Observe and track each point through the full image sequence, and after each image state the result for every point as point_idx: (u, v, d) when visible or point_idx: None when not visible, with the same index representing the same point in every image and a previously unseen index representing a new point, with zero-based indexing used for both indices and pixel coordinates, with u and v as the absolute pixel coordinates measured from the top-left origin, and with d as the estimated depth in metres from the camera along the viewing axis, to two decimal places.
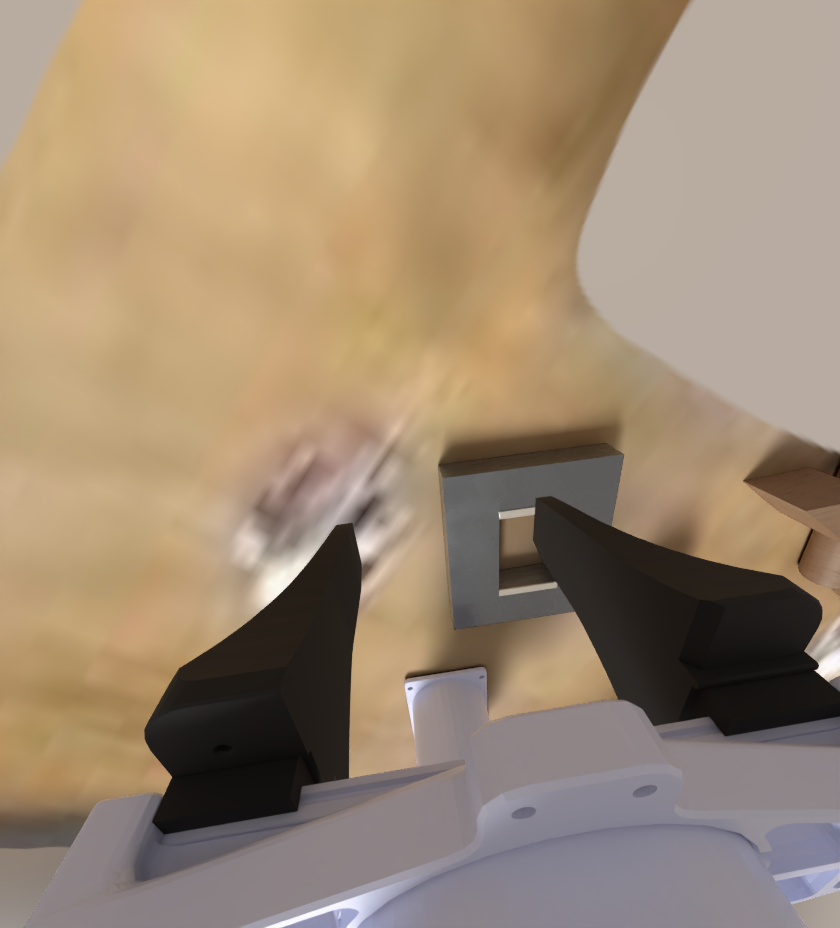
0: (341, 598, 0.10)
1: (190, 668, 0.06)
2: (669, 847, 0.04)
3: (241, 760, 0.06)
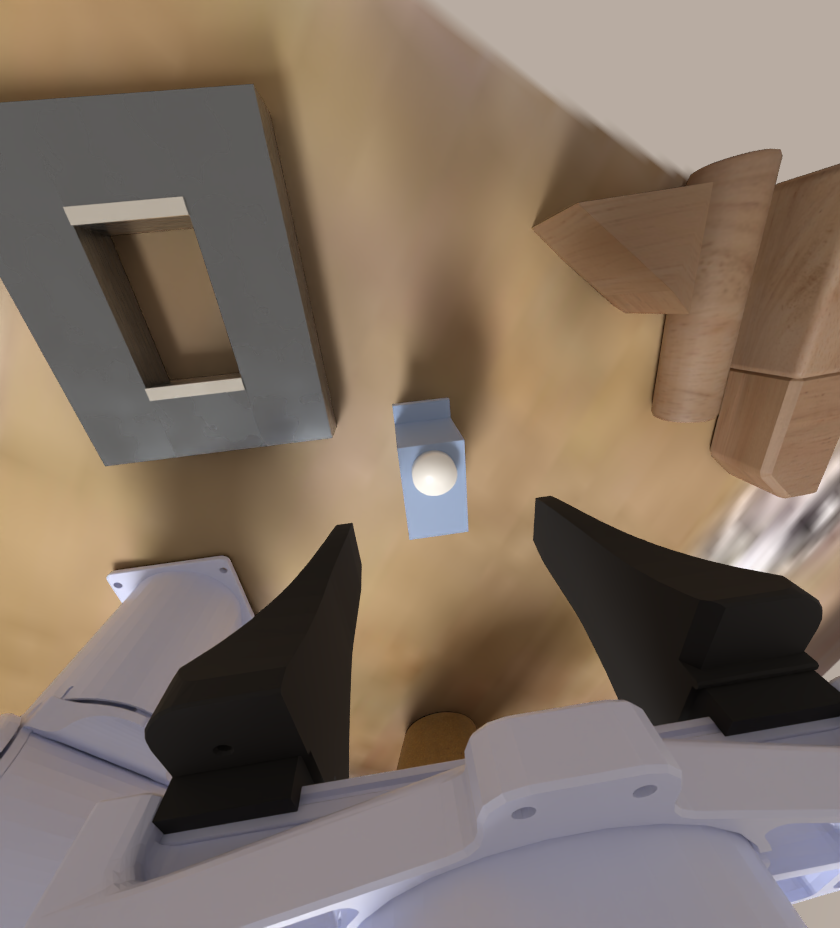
0: (341, 598, 0.10)
1: (190, 668, 0.06)
2: (669, 847, 0.04)
3: (241, 760, 0.06)
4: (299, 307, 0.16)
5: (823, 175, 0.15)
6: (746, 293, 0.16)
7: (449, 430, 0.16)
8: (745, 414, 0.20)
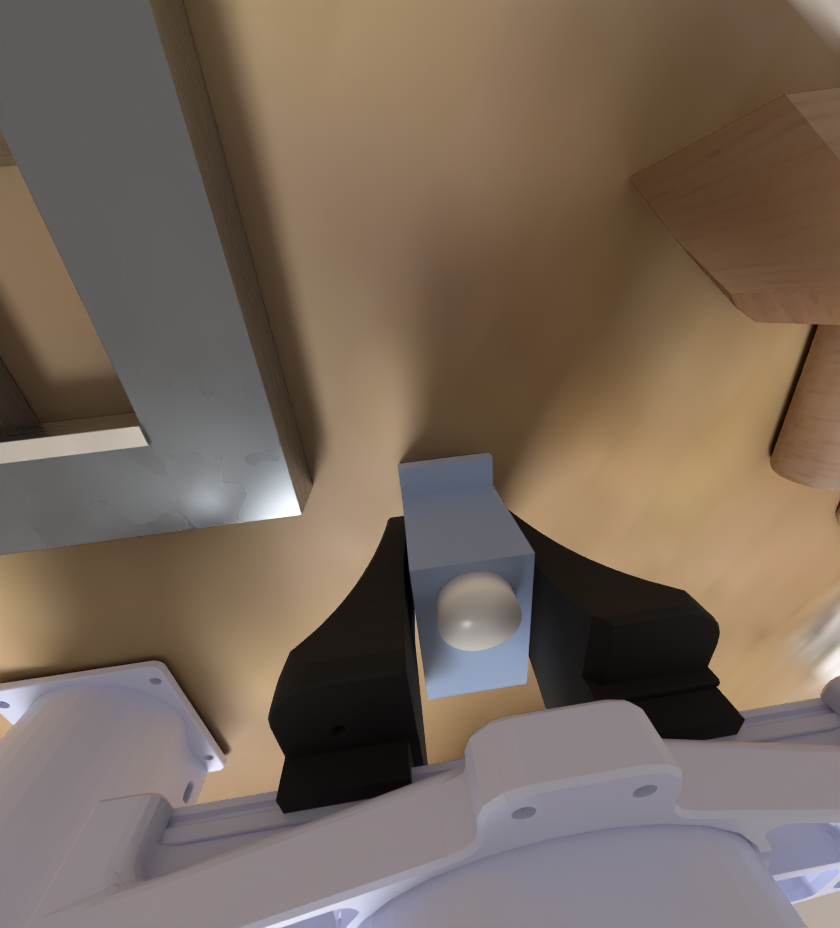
0: (408, 588, 0.10)
1: (303, 651, 0.06)
2: (669, 847, 0.04)
3: (355, 741, 0.06)
4: (232, 305, 0.09)
5: None
6: None
7: (499, 520, 0.09)
8: None
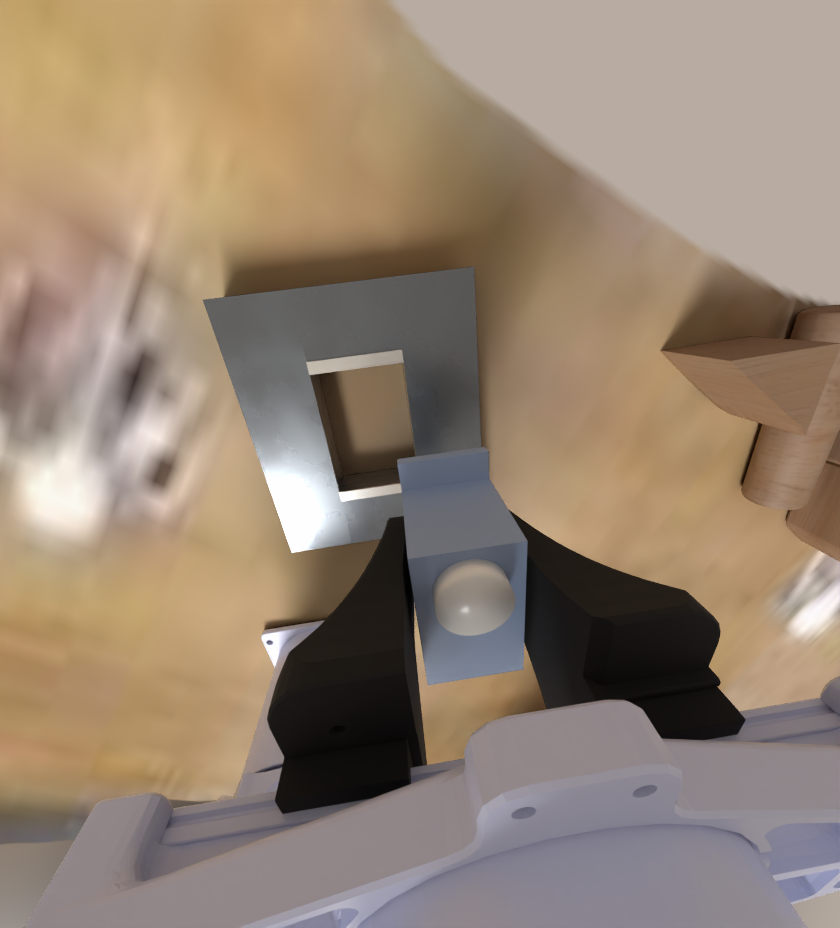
0: (407, 588, 0.10)
1: (302, 651, 0.06)
2: (669, 847, 0.04)
3: (354, 741, 0.06)
4: (477, 425, 0.18)
5: None
6: None
7: (494, 511, 0.10)
8: (827, 498, 0.23)
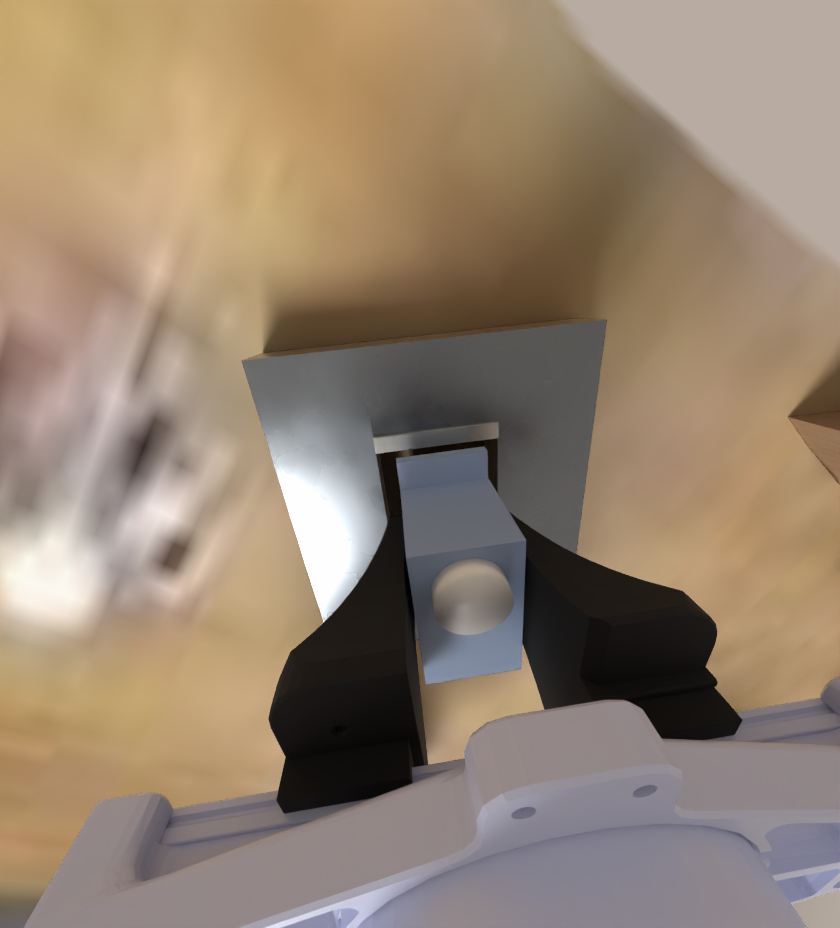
0: (408, 588, 0.10)
1: (303, 651, 0.06)
2: (669, 847, 0.04)
3: (356, 741, 0.06)
4: (578, 509, 0.14)
5: None
6: None
7: (493, 511, 0.10)
8: None
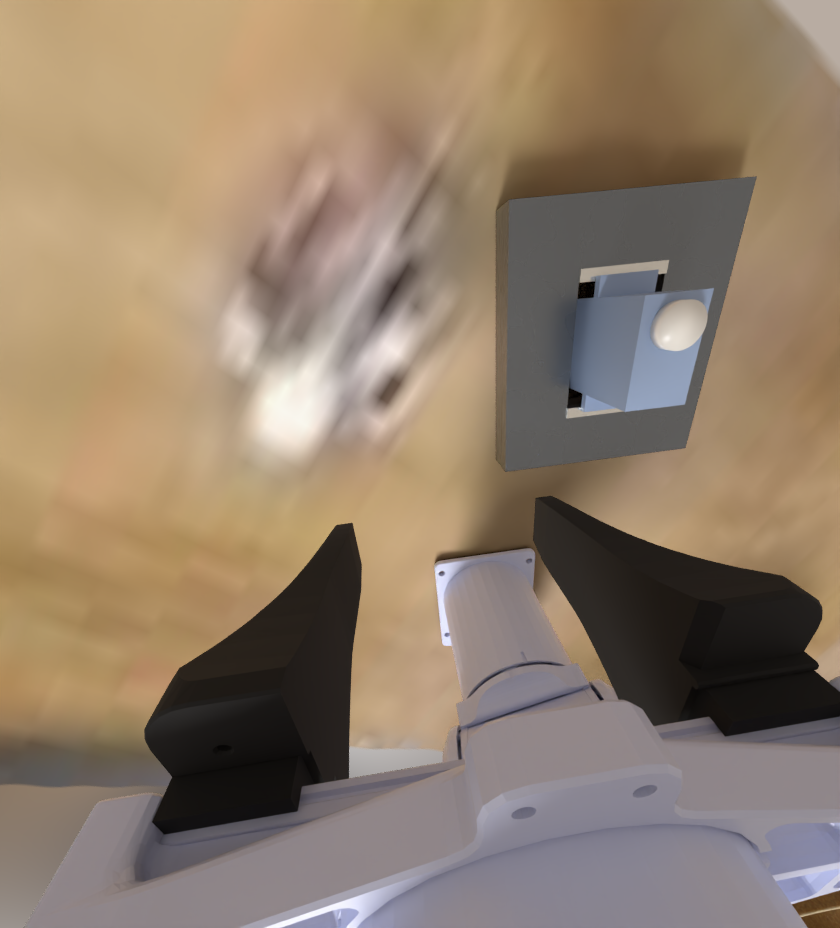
0: (341, 598, 0.10)
1: (190, 668, 0.06)
2: (669, 847, 0.04)
3: (241, 760, 0.06)
4: (710, 343, 0.19)
5: None
6: None
7: None
8: None
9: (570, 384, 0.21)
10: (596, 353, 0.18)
